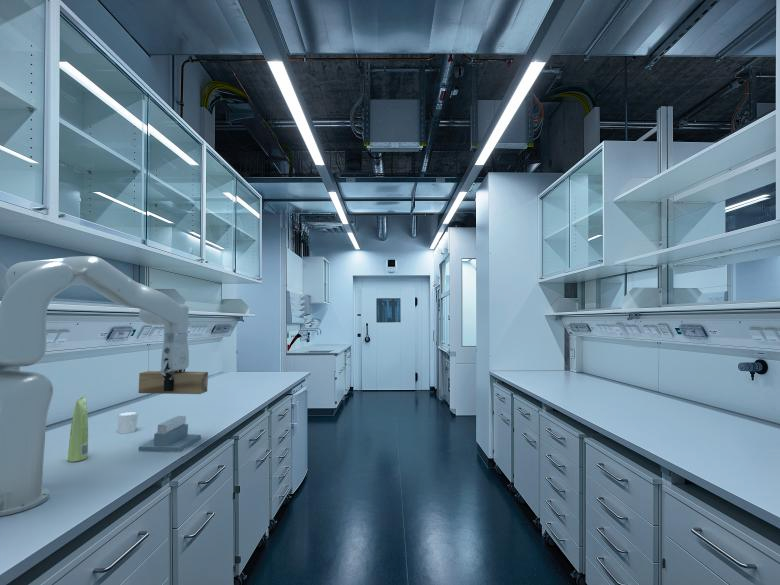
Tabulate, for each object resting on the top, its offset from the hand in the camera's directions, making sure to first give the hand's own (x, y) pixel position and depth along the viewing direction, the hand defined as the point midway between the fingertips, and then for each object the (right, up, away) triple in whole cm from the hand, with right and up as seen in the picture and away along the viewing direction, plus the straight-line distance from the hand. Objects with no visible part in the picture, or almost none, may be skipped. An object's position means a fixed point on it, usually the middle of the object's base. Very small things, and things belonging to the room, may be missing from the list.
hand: (173, 388), depth 137 cm
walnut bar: (0, -1, 0) cm, 1 cm away
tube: (-22, -19, -16) cm, 32 cm away
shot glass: (-26, -21, +13) cm, 36 cm away
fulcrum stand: (0, -20, -1) cm, 20 cm away
